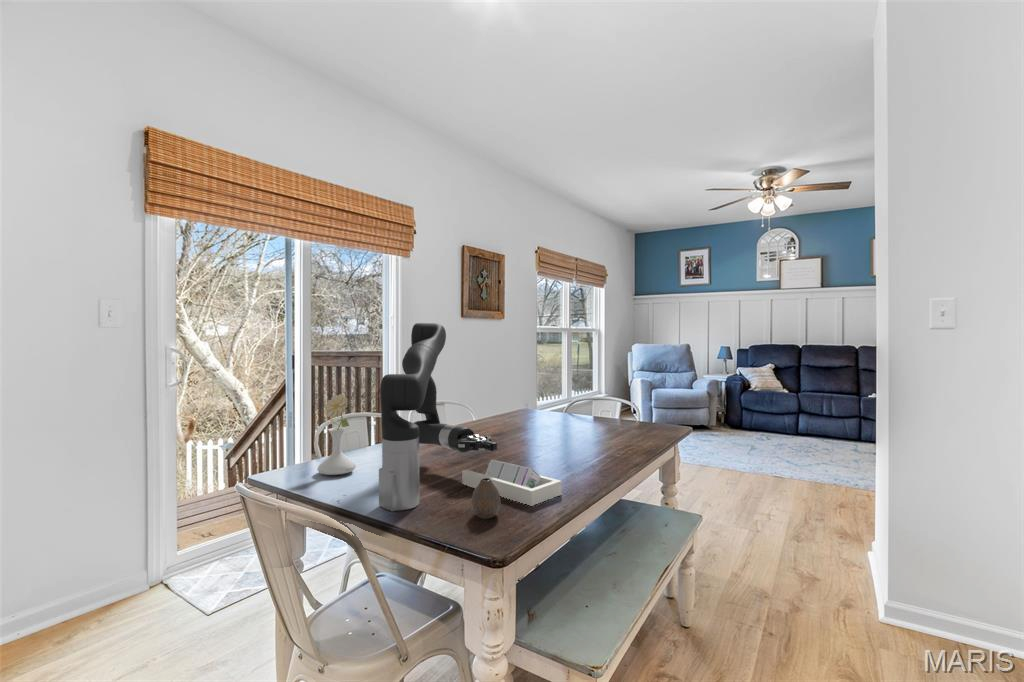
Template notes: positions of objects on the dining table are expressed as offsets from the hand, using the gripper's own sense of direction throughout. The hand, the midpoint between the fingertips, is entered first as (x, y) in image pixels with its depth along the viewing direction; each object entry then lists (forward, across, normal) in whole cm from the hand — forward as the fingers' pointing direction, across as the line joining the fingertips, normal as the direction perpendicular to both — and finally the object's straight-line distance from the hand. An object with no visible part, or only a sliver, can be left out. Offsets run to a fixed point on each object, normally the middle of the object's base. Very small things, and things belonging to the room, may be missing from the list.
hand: (495, 447), depth 142 cm
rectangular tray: (+6, 0, +11) cm, 13 cm away
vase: (+16, -18, +11) cm, 26 cm away
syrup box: (0, -1, +7) cm, 7 cm away
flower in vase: (-44, -26, +11) cm, 52 cm away
